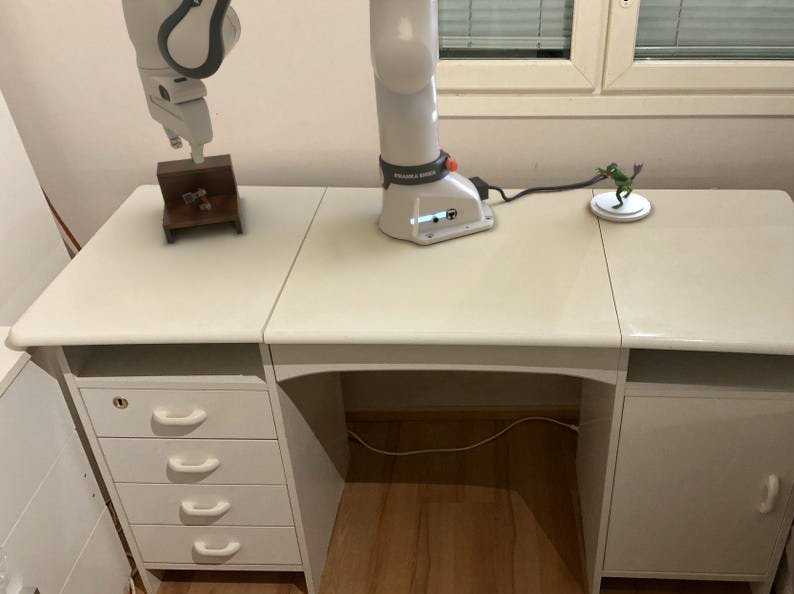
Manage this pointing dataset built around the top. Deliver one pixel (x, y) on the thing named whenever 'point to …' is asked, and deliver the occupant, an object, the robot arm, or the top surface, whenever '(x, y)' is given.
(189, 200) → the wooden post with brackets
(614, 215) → the frog figurine
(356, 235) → the top surface
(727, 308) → the top surface
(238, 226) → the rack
